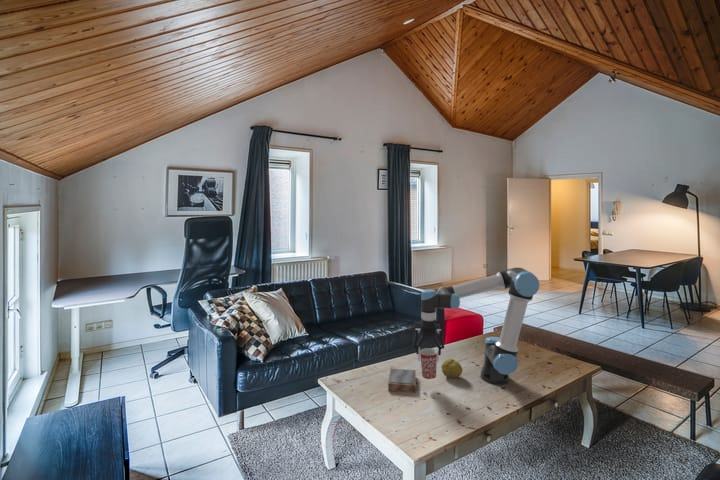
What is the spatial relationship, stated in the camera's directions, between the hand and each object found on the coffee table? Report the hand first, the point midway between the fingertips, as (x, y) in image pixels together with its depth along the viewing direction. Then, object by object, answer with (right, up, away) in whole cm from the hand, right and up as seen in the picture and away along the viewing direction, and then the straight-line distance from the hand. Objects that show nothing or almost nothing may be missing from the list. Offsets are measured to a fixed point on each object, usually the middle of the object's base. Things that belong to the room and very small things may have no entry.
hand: (428, 360), depth 204 cm
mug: (0, -8, +1) cm, 8 cm away
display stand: (-13, -14, +4) cm, 20 cm away
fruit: (+15, -14, +12) cm, 24 cm away
